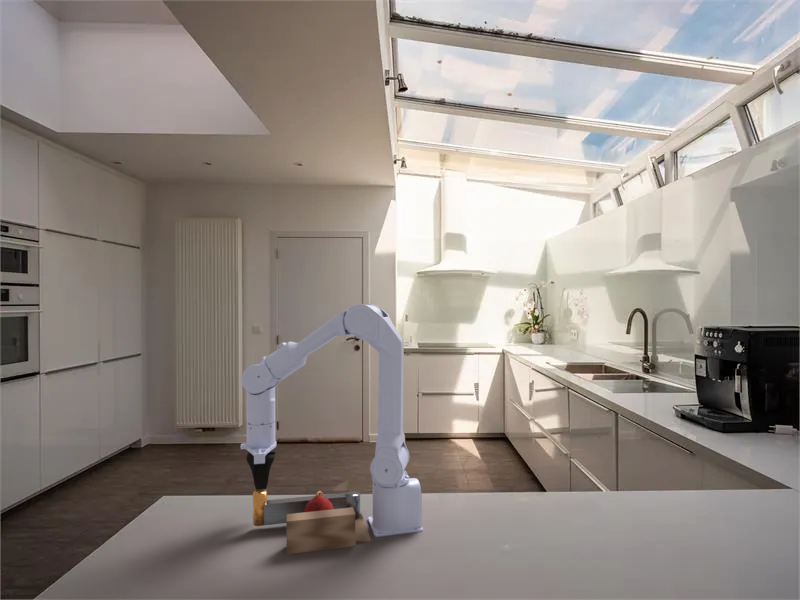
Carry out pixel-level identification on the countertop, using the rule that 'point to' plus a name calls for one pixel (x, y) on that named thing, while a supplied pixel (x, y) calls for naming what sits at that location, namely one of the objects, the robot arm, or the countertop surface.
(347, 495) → the lever
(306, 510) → the onion
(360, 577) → the countertop surface
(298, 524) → the bench
